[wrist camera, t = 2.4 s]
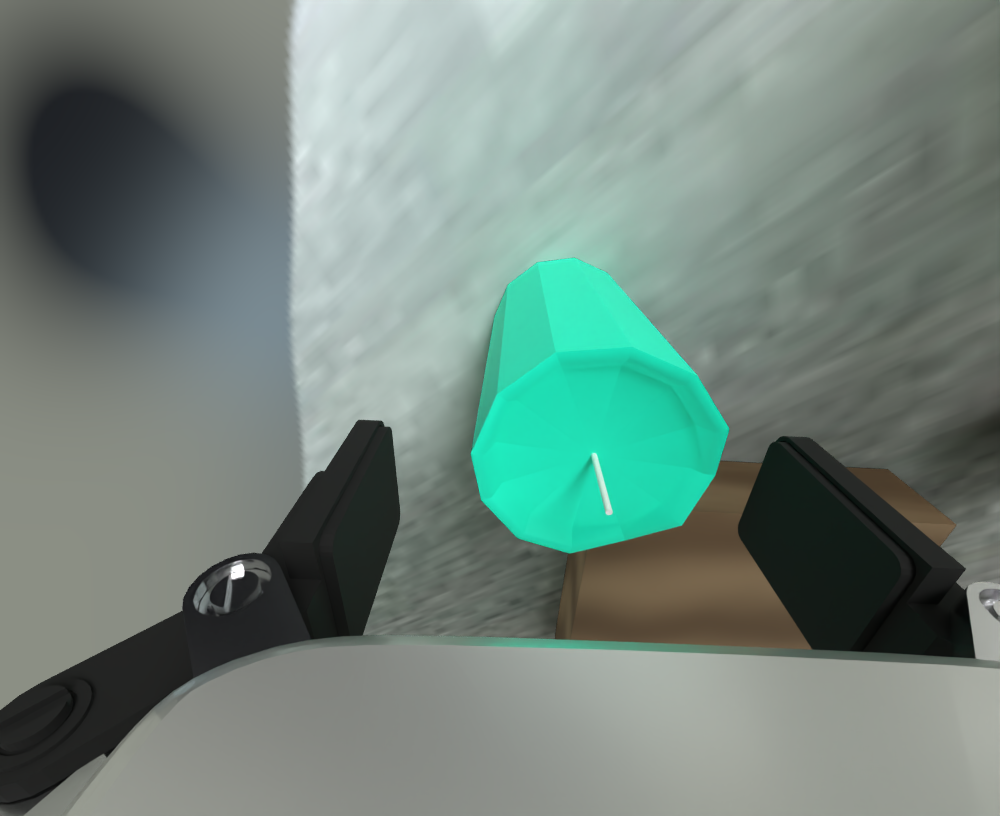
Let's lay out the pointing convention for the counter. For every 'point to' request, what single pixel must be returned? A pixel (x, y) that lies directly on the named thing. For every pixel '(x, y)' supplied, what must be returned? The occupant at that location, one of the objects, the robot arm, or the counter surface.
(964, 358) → the counter surface
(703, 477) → the candle
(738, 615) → the walnut base
